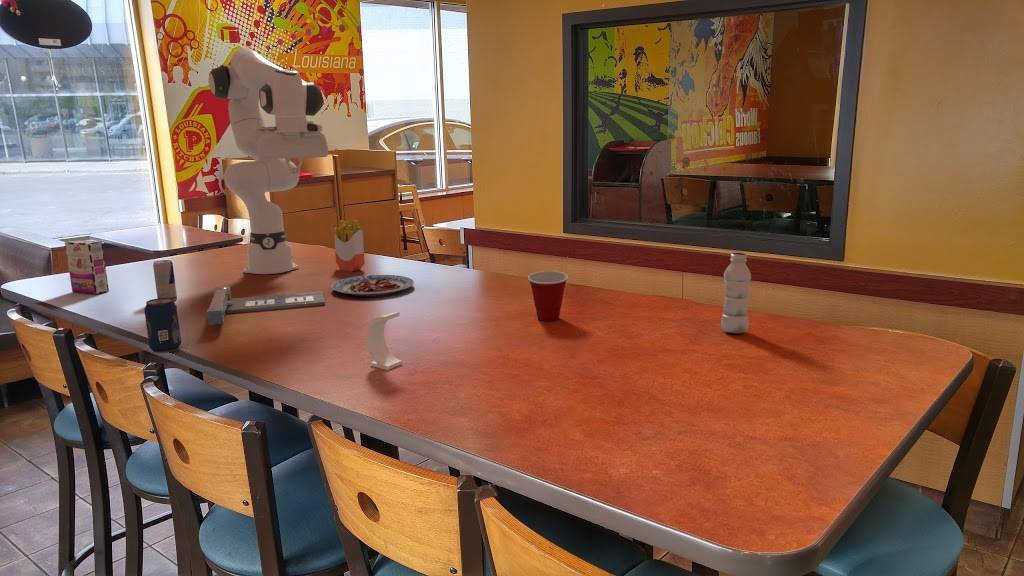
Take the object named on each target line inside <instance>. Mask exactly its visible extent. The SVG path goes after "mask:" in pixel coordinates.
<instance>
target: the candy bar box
mask: <svg viewBox="0 0 1024 576" xmlns="http://www.w3.org/2000/svg"><path fill="white" fill-rule="evenodd" d="M64 246H65V253H66V260H67V266H68V267H67V268H68V273H69V278H70V286H71V291H72V293H78V294H88V295H100V294H101V295H102V294H104V293H108V292H110V289H109V281H108V276H107V268H106V262H105V255H104V246H103V241H100V240H99V241H98V240H97V241H96V240H79V239H77V240H70V241H65V242H64Z"/></svg>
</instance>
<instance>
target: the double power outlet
mask: <svg viewBox="0 0 1024 576" xmlns="http://www.w3.org/2000/svg"><path fill="white" fill-rule="evenodd" d="M325 301H326V300H325V298H324V294H323V291H322V290H320V291H309V292H306V291H305V292H297V293H285V294H284V293H283V294H272V295H270V294H269V295H259V296H247V297H233V298H231V300H229V301H228V304H227V308H226V311H225V315H227V314H228V315H230V314H241V313H251V312H252V313H253V312H262V311H263V312H264V311H274V310H275V311H277V310H285V309H287V310H288V309H295V308H298V309H299V308H308V307H319V306H325V305H326V302H325Z"/></svg>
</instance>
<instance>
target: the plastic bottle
mask: <svg viewBox="0 0 1024 576" xmlns="http://www.w3.org/2000/svg"><path fill="white" fill-rule="evenodd" d="M747 255H748V254H747V253H746V252H739V251H738V252H731V253H730V259H729V261H730V263H729V264H728V265H727V267H726V268H725V270H724V272H723V285H724V302H723V304H724V305H723V311H722V315H721V320H720V324H721V329H722V330H723V331H724V332H726V333H728V334H736V335H737V334H743V333H746V332H747V330H748V327H749V324H750V321H749V316H748V296H749V288H750V284H751V279H752V273H751V270H750V269H749V267H748V266H747V264H746V263H747V262H748V261H747V260H748V259H747V258H748V257H747Z"/></svg>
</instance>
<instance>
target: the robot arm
mask: <svg viewBox="0 0 1024 576" xmlns="http://www.w3.org/2000/svg"><path fill="white" fill-rule="evenodd" d="M208 73H209V74H208V79H207V80H208V86H209V90H210V91H211V93H212V95H213V96H214V97H215V98H216V99H220V100H227V99H230V100H229V102H228V117H229V122H230V125H231V126H230V128H231V129H232V134H233V137H234V140H235V141H234V142H235V145H236V148H237V149H238V150H239V151H240V152H241V153H242V154H244V155H246V156H249V157H250V158H252V159H253V161H252V160H251V161H249V160H248V161H240V162H236V163H233V164H229V165H228V166H227V167H226V168H225V171H224V175H223V178H224V179H223V181H224V183H225V185H226V188H227V189H228V190H229V191H230V192H231V193H233V194H235V195H236V196H237V197H238V198H239V199H241V201H242V202H243V204H244V205H245V207H246V210H247V213H248V217H249V224H250V231H251V232H250V233H249V234H250V235H249V238H250V239H249V240H250V246H249V247H248V248H247V250H246V251H247V252H246V254H247V266H246V267H245V268H244V269H243V272H242V273H245V274H255V275H272V274H281V273H285V272H289V271H292V270H293V271H294V270H298V269H299V265H298V264H296V263H295V262H293V254H292V247H291V245H290V244H288V243H287V242H286V241H287V234H286V230H285V228H284V216H283V211H282V209H281V207H280V206H279V205H278V204H275V203H273V202H271V201H268V199H267V198H266V193H270V192H271V193H273V192H275V193H276V192H282V191H283V192H284V191H287V190H291V189H293V188H295V187H296V186H297V185H298V183H299V180H300V174H301V167H302V165H303V163H304V159H307V158H309V159H311V158H314V159H315V158H327V157H328V155H329V148H328V147H329V146H328V143H327V137H326V136H325V135H324V134H323V133H322V131H323V126H322V125H321V124H319V123H315V122H314V121H308V120H307V117H308V116H310V117H315V116H316V114H318V113H319V111H320V110H321V109H322V108H323V105H324V95H323V92H322V91H321V89H320V88H319V86H318V85H317V84H315V83H314V82H307V81H305V80H304V79H302V76H301V74H300V72H299V71H297V70H294V69H286V68H285V69H284V68H283V67H280V66H278V65H276V64H274V63H273V62H271V61H269V60H267V59H266V58H265V57H264V56H262V55H261V54H260V53H258V52H257V51H255V50H253V49H250V48H244V47H243V48H240V49H237V50H236V51H235V52H233V54H232V55H231V58H230V65H224V64H221V65H220V66H217V67H214V68H212V70H211V71H209V72H208ZM259 104H260V106H259ZM260 108H261V109H262V110H263V111H264V112H265V113H266V114H268V115H270V116H271V115H272V116H274V123H275V126H266V123H265V122H264V118H263V114H262V112H261V110H260ZM291 159H297V162H298V165H296V164H295V163H294V162H293V161H292V160H291Z"/></svg>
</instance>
